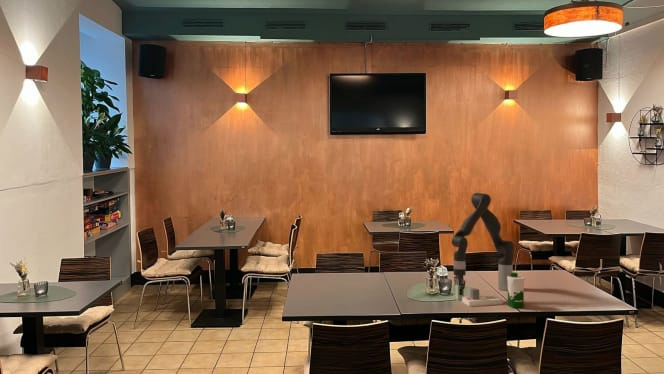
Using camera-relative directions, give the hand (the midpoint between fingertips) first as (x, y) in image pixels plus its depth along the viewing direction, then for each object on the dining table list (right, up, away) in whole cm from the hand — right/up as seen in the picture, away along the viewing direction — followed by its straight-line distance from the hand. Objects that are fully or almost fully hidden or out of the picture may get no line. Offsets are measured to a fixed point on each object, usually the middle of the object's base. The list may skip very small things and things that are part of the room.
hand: (459, 294), depth 360 cm
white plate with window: (+12, -4, -10) cm, 16 cm away
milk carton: (+30, -4, -19) cm, 36 cm away
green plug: (0, -3, 0) cm, 3 cm away
